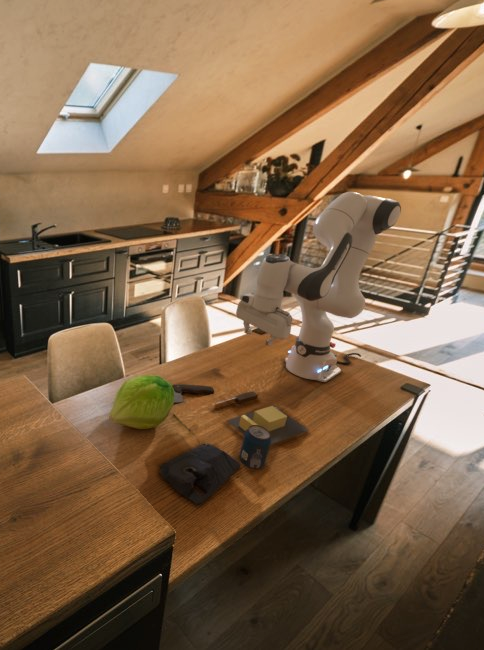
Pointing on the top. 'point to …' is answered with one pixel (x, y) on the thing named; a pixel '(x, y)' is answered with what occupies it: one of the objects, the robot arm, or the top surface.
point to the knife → (237, 399)
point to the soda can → (255, 447)
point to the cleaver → (190, 390)
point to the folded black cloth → (199, 471)
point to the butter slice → (245, 422)
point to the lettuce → (142, 402)
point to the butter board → (275, 433)
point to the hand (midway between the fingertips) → (257, 339)
